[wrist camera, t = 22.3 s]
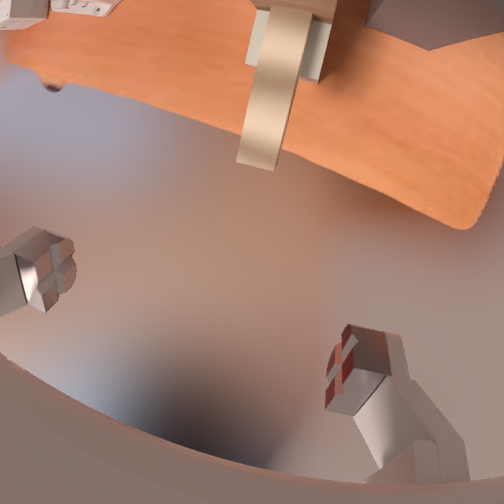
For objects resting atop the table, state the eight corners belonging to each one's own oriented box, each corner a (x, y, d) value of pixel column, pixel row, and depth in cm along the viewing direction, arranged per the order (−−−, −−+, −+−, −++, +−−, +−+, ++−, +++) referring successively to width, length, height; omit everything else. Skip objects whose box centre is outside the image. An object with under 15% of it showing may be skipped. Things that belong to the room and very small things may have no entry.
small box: (50, -4, 36) (13, -8, 27) (47, 19, 39) (9, 17, 30) (26, 7, 38) (-10, 6, 29) (24, 29, 40) (-13, 31, 31)
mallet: (294, 168, 31) (290, 182, 26) (226, 151, 31) (211, 162, 27) (343, -26, 20) (347, -45, 16) (270, -40, 20) (261, -60, 16)
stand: (269, 73, 41) (244, 63, 26) (287, 0, 35) (270, -41, 20) (317, 84, 40) (318, 79, 26) (335, 11, 34) (343, -27, 20)
